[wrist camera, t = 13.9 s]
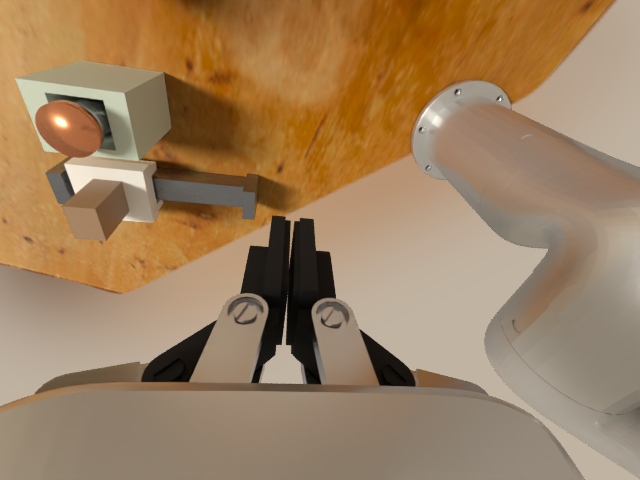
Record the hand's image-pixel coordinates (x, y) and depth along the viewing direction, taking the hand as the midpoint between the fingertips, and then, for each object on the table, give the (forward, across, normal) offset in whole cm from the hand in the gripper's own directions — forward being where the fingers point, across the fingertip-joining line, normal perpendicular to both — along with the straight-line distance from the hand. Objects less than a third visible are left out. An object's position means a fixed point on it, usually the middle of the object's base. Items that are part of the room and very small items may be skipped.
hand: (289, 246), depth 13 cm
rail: (+28, +15, +13) cm, 35 cm away
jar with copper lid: (+22, +18, +3) cm, 28 cm away
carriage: (+27, +20, +13) cm, 36 cm away
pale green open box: (+28, +18, +3) cm, 34 cm away
